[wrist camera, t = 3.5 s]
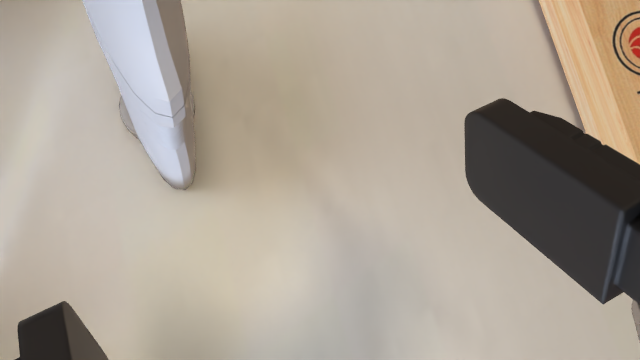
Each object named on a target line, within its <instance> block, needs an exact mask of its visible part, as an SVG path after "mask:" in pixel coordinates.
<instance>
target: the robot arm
mask: <svg viewBox="0 0 640 360" xmlns="http://www.w3.org/2000/svg"><path fill="white" fill-rule="evenodd" d="M465 171H466V178H467V181H468V184H469V186H470V188H471V190H472V192H473V193H474V194H475V196H476V197H477V198H478V199H479V200H480V201H481V202H482V203H483V204H484V205H486V206H487V207H488V208H489V209H490V210H492V211H493V212H494V213H495V214H496V215H498V216H499V217H500V218H501V219H502V220H504V221H505V222H506V223H507V224H508V225H509V226H511V227H512V228H513V229H514V230H515V231H517V232H518V233H519V234H520V235H521V236H523V237H524V238H525V239H526V240H527V241H528V242H530V243H531V244H532V245H533V246H534V247H536V248H537V249H538V250H539V251H540V252H542V253H543V254H544V255H545V256H546V257H547V258H549V259H550V260H551V261H552V262H553V263H555V264H556V265H557V266H558V267H559V268H561V269H562V270H563V271H564V272H565V273H566V274H568V275H569V276H570V277H571V278H572V279H574V280H575V281H576V282H577V283H578V284H580V285H581V286H582V287H583V288H584V289H585V290H587V291H588V292H589V293H590V294H591V295H593V296H594V297H595V298H596V299H597V300H599V301H600V302H601V303H602V304H605V303H606V302H608V301H609V300H611V299H613V298H614V297H616V296H618V295H619V294H621V293H623V292H625V293H626V294H627V295H629V296H630V297H631V298H632V299H633V301H632V308H631V309H632V315H633V319H634V322H635V326H636V330H637V334H638V338H639V342H640V164H638V163H637V162H635V161H633V160H631V159H630V158H628V157H626V156H625V155H623V154H621V153H620V152H618V151H616V150H614V149H613V148H611V147H609V146H608V145H606V144H605V145H602V144H601V141H599V140H597V139H596V138H594V137H592V136H591V135H589V134H586V135H585V134H584V133H583V131H582V130H581V129H579V128H577V127H575V126H574V125H572V124H570V123H569V122H567V121H565V120H564V119H562V118H559V117H555V116H551V115H548V114H544V113H540V112H537V111H532V112H530V113H529V112H528V111H526V110H524V109H523V108H521V107H519V106H518V105H516V104H514V103H513V102H511V101H509V100H507V99H502V98H501V99H498V100H496V101H494V102H492V103H489V104H487V105H485V106H483V107H481V108H479V109H477V110H475V111H472V112H470V113H469V114H468V115H467V116H466V118H465ZM18 339H19V350H20V357H19V358H17V359H15V360H108V358H107V356H106V355H105V353H104V352H103V350H102V349H101V347H100V346H99V345H98V343H97V342H96V340H95V339H94V338H93V336H92V335H91V333H90V332H89V331H88V329H87V328H86V327H85V325H84V324H83V322H82V321H81V320H80V318H79V317H78V315H77V314H76V313H75V311H74V310H73V309H72V307H71V306H70V305H69V304H68V303H67V302H65V301H63V302H61V303H59V304H57V305H54V306H52V307H50V308H48V309H46V310H44V311H42V312H40V313H37V314H35V315H33V316H31V317H29V318H27V319H25V320H22V321H20V322H19V324H18Z"/></svg>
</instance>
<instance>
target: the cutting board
mask: <svg viewBox="0 0 640 360" xmlns="http://www.w3.org/2000/svg"><path fill="white" fill-rule="evenodd" d="M539 3H540V5H541V8H542V11H543V14H544V17H545V19H546V22H547V25H548V28H549V30H550V33H551V36H552V39H553V42H554V44H555V47H556V50H557V53H558V56H559V58H560V61H561V64H562V67H563V70H564V72H565V75H566V78H567V81H568V84H569V86H570V89H571V92H572V95H573V97H574V100H575V103H576V106H577V109H578V111H579V114H580V117H581V120H582V123H583V125H584V128H585V131H586V134H589V135H591V136H592V137H594V138H596V139H597V140H599V141H601V144H602V145H605V144H606V145H608V146H609V147H611V148H613V149H614V150H616V151H618V152H620V153H621V154H623V155H625V156H626V157H628V158H630V159H631V160H633V161H635V162H637V163H638V164H640V0H539Z"/></svg>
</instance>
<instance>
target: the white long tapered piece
mask: <svg viewBox="0 0 640 360" xmlns="http://www.w3.org/2000/svg"><path fill="white" fill-rule="evenodd" d="M82 1H83V4H84V6H85V9H86V12H87V14H88V17H89V19H90V22H91V25H92V27H93V30H94V33H95V35H96V38H97V40H98V42H99V44H100V46H101V49H102V51H103V53H104V55H105V57H106V60H107V62H108V64H109V66H110V68H111V71H112V73H113V75H114V78H115V80H116V82H117V85H118V87H119V90H120V92H121V98H120V103H119V108H120V115H121V118H122V120H123V122H124V124H125V126H126V127H127V129H128V130H129V131H130V132H131V133H132V134H133V135H134V136H135V137H136V138H138V139H140V141H141V143H142V145H143V147H144V148H145V150H146V152H147V154H148V155H149V157H150V159H151V160H152V162H153V163H154V165H155V166H156V168H157V170H158V171H159V173H160V174H161V176H162V177H163V179H164V180H165V181H166V182H168V183H169V184H170V185H171V186H173V187H174V188H175V189H181V190H185V189H187V188H188V187H189V186H190V185H191V184H192V181H193V177H194V174H195V170H196V162H195V135H194V125H193V118H194V113H195V106H194V100H193V95H192V93H191V84H190V56H189V49H188V41H187V35H186V28H185V21H184V15H183V10H182V5H181V0H82Z"/></svg>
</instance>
